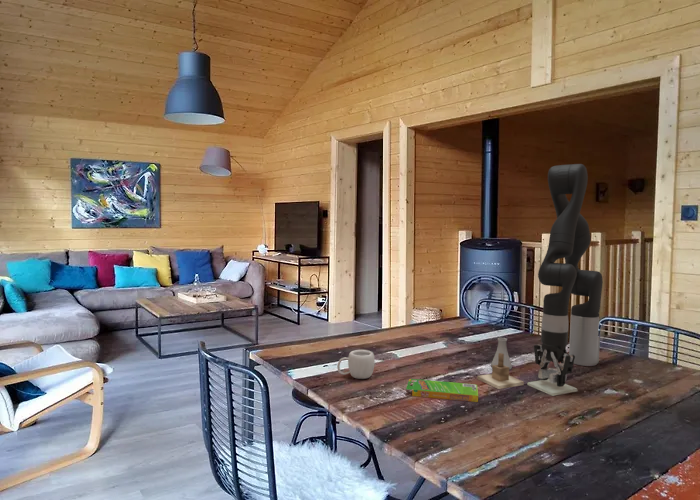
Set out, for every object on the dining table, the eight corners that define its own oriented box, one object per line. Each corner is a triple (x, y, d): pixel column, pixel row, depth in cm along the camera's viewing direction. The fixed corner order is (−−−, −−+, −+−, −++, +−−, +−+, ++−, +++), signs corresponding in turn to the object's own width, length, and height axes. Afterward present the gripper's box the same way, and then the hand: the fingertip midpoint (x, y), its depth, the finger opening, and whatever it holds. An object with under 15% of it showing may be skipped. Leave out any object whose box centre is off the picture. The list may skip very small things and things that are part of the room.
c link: (552, 375, 158) (552, 367, 158) (566, 380, 153) (566, 372, 153) (538, 377, 156) (538, 369, 156) (552, 383, 151) (553, 375, 151)
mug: (371, 371, 168) (372, 348, 167) (376, 380, 160) (377, 356, 159) (335, 373, 166) (335, 349, 166) (338, 381, 158) (339, 357, 157)
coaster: (551, 380, 161) (551, 378, 161) (577, 391, 152) (577, 388, 152) (527, 384, 157) (527, 382, 157) (552, 395, 148) (552, 393, 148)
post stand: (501, 375, 166) (502, 348, 166) (523, 384, 157) (525, 356, 157) (477, 379, 162) (478, 351, 162) (498, 389, 153) (499, 360, 152)
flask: (513, 371, 171) (514, 342, 170) (491, 369, 172) (492, 340, 172) (511, 364, 178) (512, 336, 177) (489, 363, 180) (490, 335, 179)
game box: (477, 406, 143) (405, 395, 147) (476, 394, 152) (408, 385, 157) (478, 395, 143) (406, 385, 147) (477, 384, 152) (409, 375, 156)
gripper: (583, 332, 148) (580, 389, 150) (545, 322, 161) (543, 374, 163) (564, 335, 145) (561, 392, 147) (527, 324, 158) (525, 377, 160)
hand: (552, 382), depth 155 cm, fingers closed on c link, 5 cm apart
